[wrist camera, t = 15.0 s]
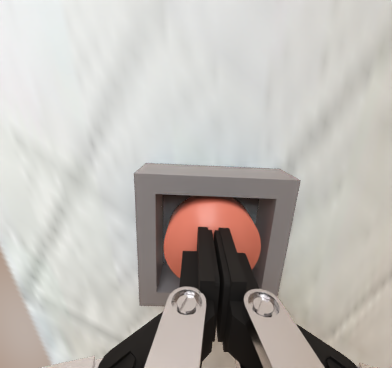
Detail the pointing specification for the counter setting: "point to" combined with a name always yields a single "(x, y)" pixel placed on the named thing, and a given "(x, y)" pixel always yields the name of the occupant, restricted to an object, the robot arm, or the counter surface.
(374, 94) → the counter surface
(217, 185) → the button housing
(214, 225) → the button
